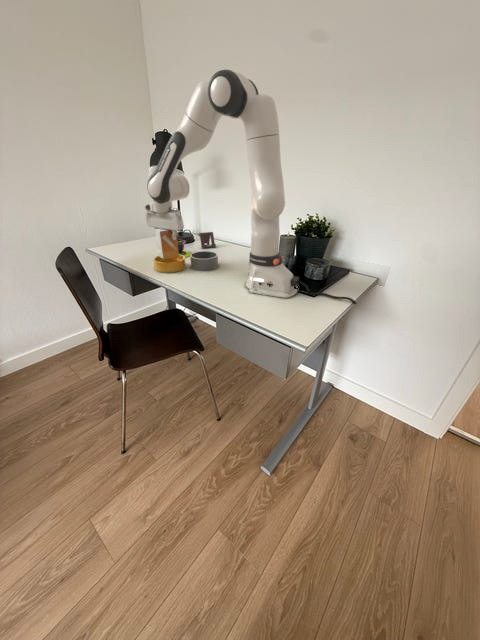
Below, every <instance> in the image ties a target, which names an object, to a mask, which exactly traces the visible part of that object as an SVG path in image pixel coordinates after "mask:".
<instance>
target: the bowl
mask: <svg viewBox="0 0 480 640" xmlns="http://www.w3.org/2000/svg"><path fill="white" fill-rule="evenodd" d="M152 260H153V265H154V270H155V271H157V272H160V273H165V274H166V273H167V274H168V273H177V272H181V271H183V270H184V269H185V268H186V265H187V264H186V257H184V256H183V255H179V257H174V258H167V259H162V258H161V257H160V256H159V255H156V256H155V257H153V259H152Z"/></svg>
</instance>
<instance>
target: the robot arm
mask: <svg viewBox="0 0 480 640" xmlns="http://www.w3.org/2000/svg"><path fill="white" fill-rule="evenodd" d="M223 116H224V117H229V118H231V119H240V120H241V121H242V123H243V125H244V132H245V142H246V151H247V162H248V163H247V164H248V171H249V179H250V187H251V201H250V202H251V209H250V211H251V212H250V213H251V214H250V215H251V216H250V217H251V218H250V219H251V220H250V221H251V222H250V223H251V225H250V226H251V227H250V228H251V230H250V231H251V232H250V233H251V235H250V236H251V237H250V252H249V258H248V259H249V263H248V264H249V270H248V276H247V279H246V282H245V286H246V288H248V289H249V293H251V294H257V295H263V296H269V297H276V298H282V299H288V298H291V297H293V296H295V295H296V294H297V293H298V292H299V290H300V287H299V288H298V286H299V285H302V286H303V287H304V288H305V289H306V292H307V291H308V292H307V294H309V295H311V296H324V297H328V298H332V299H335V300H348V301H351V302H352V303H353V304H354V305H357V304H358V303H357V302H356V300H354V299H353V298H352V297H348V296H338V295H337V296H336V295H332V294H329V293H326V292H312V291H310V288H309V286H308V285H307V284H306V283H305V282H303V281H300V276H295V275H294V274H293V273H292V272H291V271H290V270H289V268H287V266H285V264H283V260H284V255H280V253H279V249H280V247H279V246H280V235H281V234H280V233H281V232H280V215H282V213H283V211H284V209H285V206H286V197H285V196H286V195H285V185H284V177H283V171H282V160H281V159H282V157H281V137H280V126H279V118H278V111H277V107H276V103H275V100H274V99H273V97H272V96H270V95H268V94H262V93H261V94H260V93H259V90H258V87H257V86H256V84H255V83H254V81H252V80H251V79H249V78H247V77H246V76H245V75H243V74H241V73H239V72H236V71H233V70H231V69H221V70H218V71H216V72H215V73H214V74H213V75H212V76H211V78H210V81H207V80H203V81H200V82H199V83H198V84H197V85H196V86H195V89H194V90H193V93H192V94H191V97H190V99H189V101H188V104H187V106H186V109H185V112H184V114H183V117H182V120H181V121H180V124H179V125H178V127H177V129H176V130H175V132H174V133H173V134H172V135H171V136H170V138H169V140H168V141H167V144H166V146H165V148H164V149H163V152H162V154H161V156H160V159H159V161H158V164H154V165H151V166H150V167H148V180H147V186H146V187H147V192H148V195H149V197H150V198H151V199H150V200H151V202H149V203H147V204H145V205H144V206H143V207H144V211H145V220H146V224H147V226H148V227H149V228H153V230H154V231H155V229H161V228H162V229H168V230H172V233H173V235H172V236H171V239H172V240H176V234H177V235H178V232H181V231H183V230H184V229H185V225H184V219H183V216H182V211H181V210H180V209H179V208H178V207H177V208H176V207H174V206H173V202H174V201H181V200H184V199H186V198H188V197H189V194H190V184H189V183H190V182H189V181H188V179H187V178H186V177H185V176H184V175H182V174H179V173H177V172H176V171H177V168H178V167H179V164H180V163H181V161H182V160H183V159H185V158H186V157H187V156H189V155H192V154H194V153H196V152H199V151H201V150H203V149H205V148H206V147H207V146H208V144H210V141H211V139H212V138H213V136H214V133H215V130H216V128H217V126H218V123H219V121H220V119H221V118H222V117H223ZM297 285H298V286H297ZM294 286H295V287H296V288H298V290H297V289H294ZM309 291H310V293H309Z"/></svg>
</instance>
